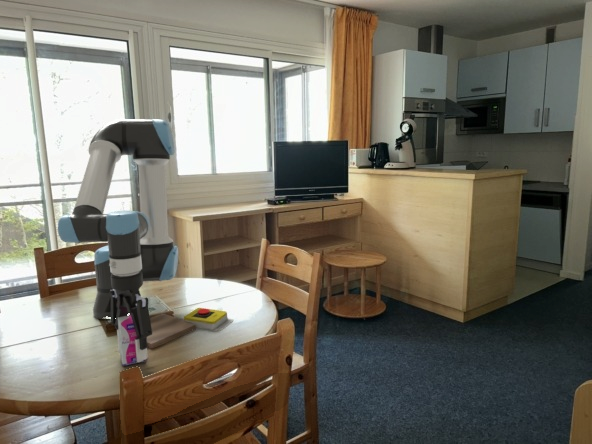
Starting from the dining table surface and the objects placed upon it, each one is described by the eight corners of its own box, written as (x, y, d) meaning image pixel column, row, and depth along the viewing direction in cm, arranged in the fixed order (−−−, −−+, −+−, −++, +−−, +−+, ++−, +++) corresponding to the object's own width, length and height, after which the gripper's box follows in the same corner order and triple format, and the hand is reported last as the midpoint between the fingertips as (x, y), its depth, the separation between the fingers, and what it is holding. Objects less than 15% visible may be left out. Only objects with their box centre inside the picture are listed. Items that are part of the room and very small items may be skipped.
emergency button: (194, 303, 145) (234, 308, 140) (195, 315, 145) (234, 321, 140) (177, 313, 136) (219, 319, 131) (178, 326, 137) (220, 333, 132)
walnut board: (119, 334, 130) (118, 329, 129) (163, 317, 142) (163, 313, 142) (151, 348, 120) (151, 343, 120) (195, 329, 133) (195, 324, 133)
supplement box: (122, 367, 110) (119, 324, 108) (120, 357, 115) (116, 316, 113) (146, 361, 113) (143, 320, 110) (143, 352, 118) (140, 312, 116)
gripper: (91, 268, 112) (98, 350, 117) (137, 283, 101) (143, 373, 105) (117, 262, 118) (123, 339, 123) (163, 275, 106) (169, 360, 111)
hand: (133, 355), depth 114 cm, fingers closed on supplement box, 7 cm apart
